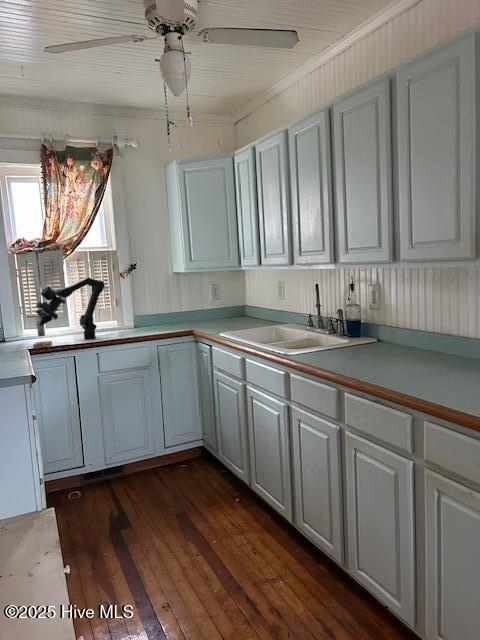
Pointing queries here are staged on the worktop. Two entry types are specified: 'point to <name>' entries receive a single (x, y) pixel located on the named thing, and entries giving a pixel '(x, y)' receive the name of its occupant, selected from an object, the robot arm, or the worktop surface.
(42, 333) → the column
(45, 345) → the step
